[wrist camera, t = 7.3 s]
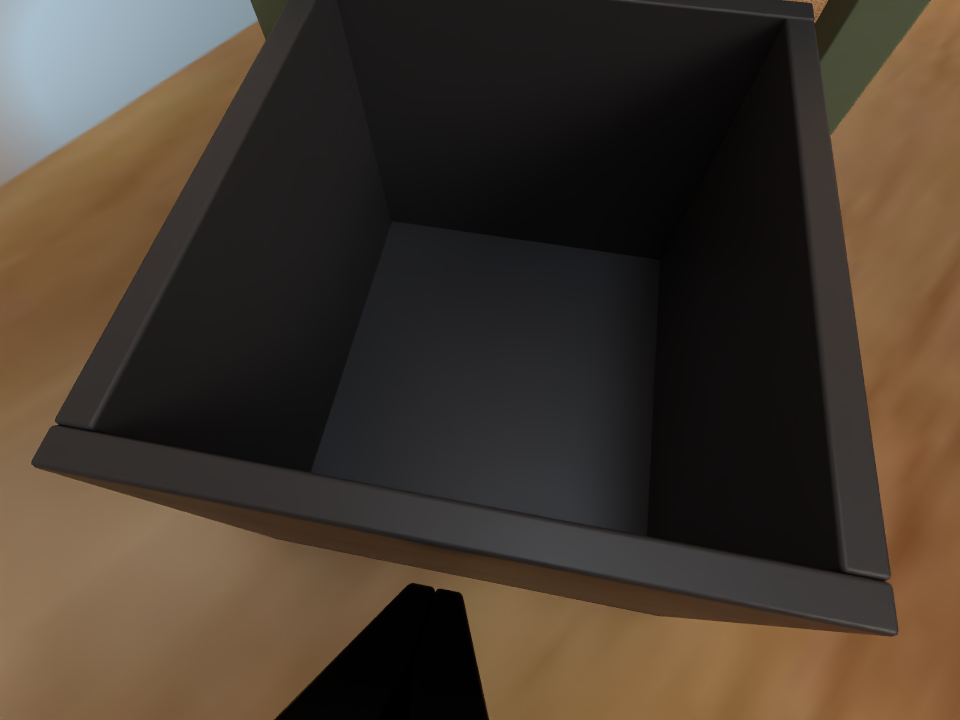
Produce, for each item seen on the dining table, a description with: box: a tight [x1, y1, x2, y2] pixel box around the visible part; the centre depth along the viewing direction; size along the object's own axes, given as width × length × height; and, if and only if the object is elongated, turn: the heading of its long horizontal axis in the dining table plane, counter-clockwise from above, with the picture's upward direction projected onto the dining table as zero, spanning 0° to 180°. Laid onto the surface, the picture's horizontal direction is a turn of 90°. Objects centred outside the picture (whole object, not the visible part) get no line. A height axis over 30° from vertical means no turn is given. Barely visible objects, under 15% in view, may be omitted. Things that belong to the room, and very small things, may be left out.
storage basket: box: [31, 0, 898, 636], centre depth 13 cm, size 12×11×9 cm
